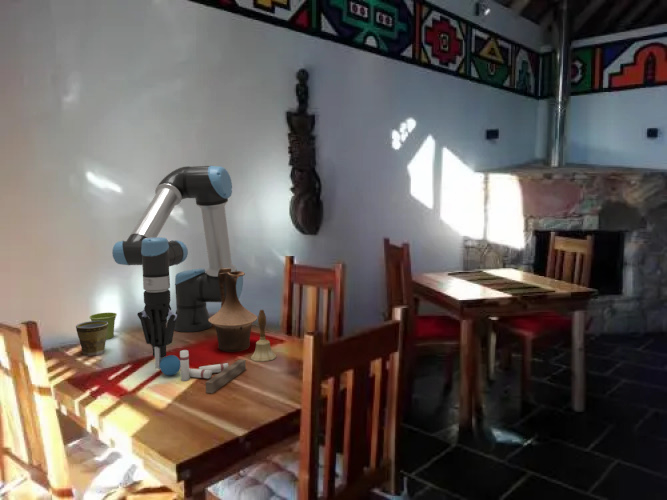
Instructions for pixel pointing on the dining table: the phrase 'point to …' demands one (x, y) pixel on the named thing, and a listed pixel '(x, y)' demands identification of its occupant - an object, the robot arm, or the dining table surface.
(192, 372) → the front pin
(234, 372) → the back wall
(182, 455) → the dining table surface
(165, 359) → the ball
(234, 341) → the pitcher
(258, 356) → the hand bell
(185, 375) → the pin
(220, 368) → the pin
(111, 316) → the plant pot
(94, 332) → the ceramic cup
